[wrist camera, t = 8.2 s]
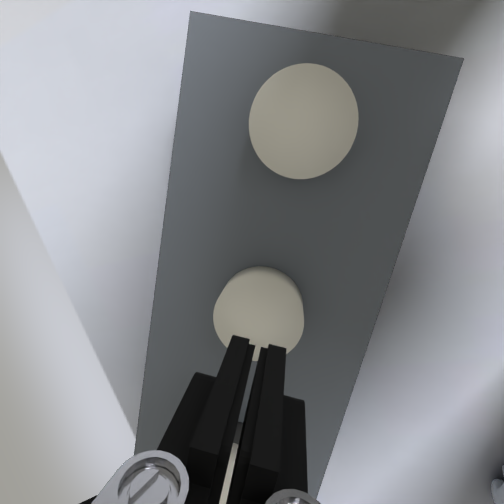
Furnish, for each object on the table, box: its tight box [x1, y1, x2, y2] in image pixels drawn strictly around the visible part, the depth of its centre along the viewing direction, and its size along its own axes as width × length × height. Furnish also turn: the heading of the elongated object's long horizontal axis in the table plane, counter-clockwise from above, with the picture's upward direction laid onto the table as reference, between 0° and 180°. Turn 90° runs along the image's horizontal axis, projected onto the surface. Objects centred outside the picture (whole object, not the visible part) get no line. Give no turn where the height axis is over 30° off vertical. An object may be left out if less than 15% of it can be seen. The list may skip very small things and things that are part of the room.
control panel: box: [134, 11, 464, 499], centre depth 19 cm, size 26×12×5 cm, turn 169°
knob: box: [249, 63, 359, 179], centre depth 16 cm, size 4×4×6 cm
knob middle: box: [213, 266, 304, 361], centre depth 18 cm, size 4×4×6 cm
